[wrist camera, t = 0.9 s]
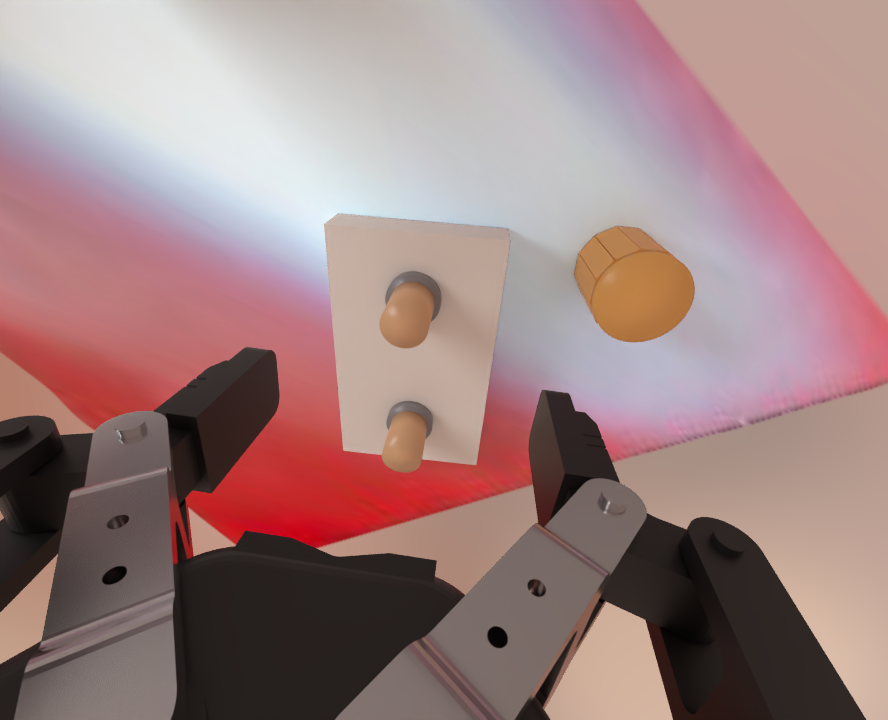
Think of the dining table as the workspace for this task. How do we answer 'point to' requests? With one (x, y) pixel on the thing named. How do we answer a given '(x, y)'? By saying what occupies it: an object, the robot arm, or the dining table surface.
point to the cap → (633, 284)
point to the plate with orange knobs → (414, 334)
